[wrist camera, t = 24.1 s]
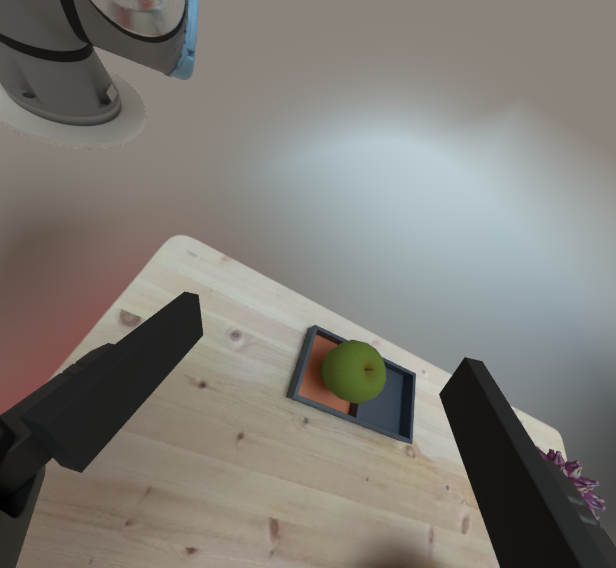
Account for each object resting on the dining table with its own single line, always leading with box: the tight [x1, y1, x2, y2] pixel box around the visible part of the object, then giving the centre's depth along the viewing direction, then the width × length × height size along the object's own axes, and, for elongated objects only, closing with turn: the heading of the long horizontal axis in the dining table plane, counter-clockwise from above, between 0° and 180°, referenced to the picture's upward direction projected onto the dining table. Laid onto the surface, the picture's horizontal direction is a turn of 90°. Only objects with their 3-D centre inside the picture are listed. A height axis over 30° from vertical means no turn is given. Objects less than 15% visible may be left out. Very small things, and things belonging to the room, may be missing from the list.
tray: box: [287, 325, 416, 444], centre depth 40 cm, size 23×12×3 cm, turn 71°
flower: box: [536, 446, 605, 520], centre depth 45 cm, size 12×12×12 cm
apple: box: [320, 340, 386, 404], centre depth 34 cm, size 9×8×12 cm
